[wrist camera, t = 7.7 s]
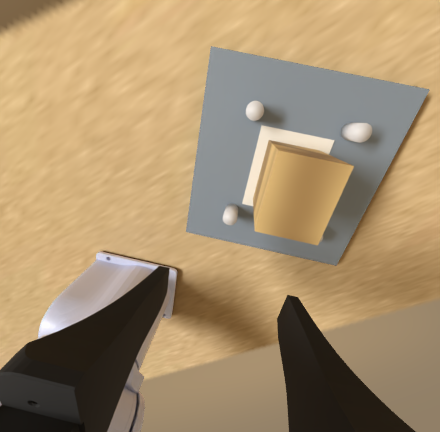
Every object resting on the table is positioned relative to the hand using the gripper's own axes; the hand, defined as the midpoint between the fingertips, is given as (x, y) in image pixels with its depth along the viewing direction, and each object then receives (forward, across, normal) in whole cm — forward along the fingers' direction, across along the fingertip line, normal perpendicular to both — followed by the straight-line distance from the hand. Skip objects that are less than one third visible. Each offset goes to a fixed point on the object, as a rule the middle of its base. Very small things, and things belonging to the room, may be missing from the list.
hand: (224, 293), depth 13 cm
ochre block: (+8, -3, -6) cm, 11 cm away
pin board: (+9, -3, -6) cm, 12 cm away
